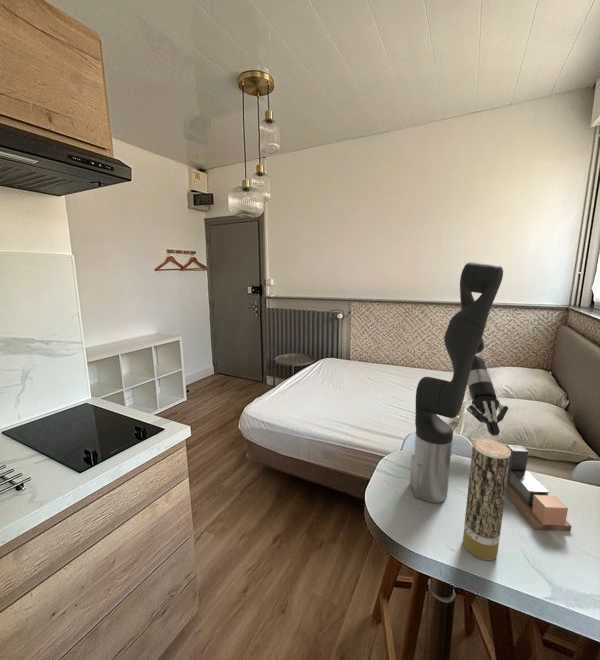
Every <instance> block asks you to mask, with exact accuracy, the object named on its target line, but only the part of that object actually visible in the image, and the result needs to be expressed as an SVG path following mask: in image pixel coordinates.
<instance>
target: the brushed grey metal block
mask: <svg viewBox="0 0 600 660" xmlns="http://www.w3.org/2000/svg"><path fill="white" fill-rule="evenodd" d="M506 446H507V447H508V448H509V449H510V451H511V456H510V464H509V471H508V479H507V481H508V482H509V481H510V474H511V471H519V472H527V464H528V463H527V462H528V457H529V450H527V448H525V447H524V446H523V445H520V444H515V445H514V444H507V445H506ZM534 495H544V496H546V495H545V494H544V493H531V499H530V503H531V504H532V505H533V501H534Z"/></svg>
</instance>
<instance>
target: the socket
mask: <svg viewBox="0 0 600 660" xmlns="http://www.w3.org/2000/svg"><path fill="white" fill-rule="evenodd" d="M568 511H569V507H567V505H566V504H565V503H564V502H562V501H561V499H559V498H558V496H556V495H548V496H544V495H534V501H533V508H532V513H533V514H534V515H535V516H536V517H537V518H538V519H539V521H540V522H541V523H542V524H543V525H562V526H565V523H566V521H567V515H568Z"/></svg>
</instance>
